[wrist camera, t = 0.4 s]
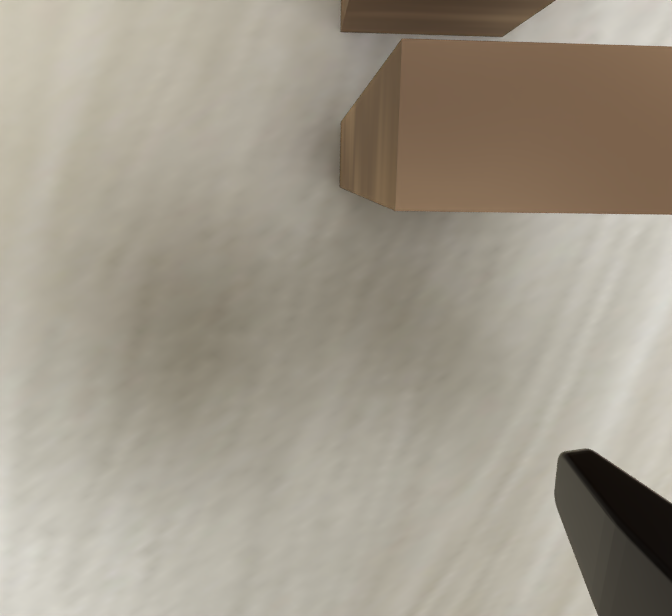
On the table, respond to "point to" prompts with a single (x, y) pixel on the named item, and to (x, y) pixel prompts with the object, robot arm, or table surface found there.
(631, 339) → the table surface
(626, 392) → the table surface
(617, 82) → the walnut domino
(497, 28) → the walnut domino
